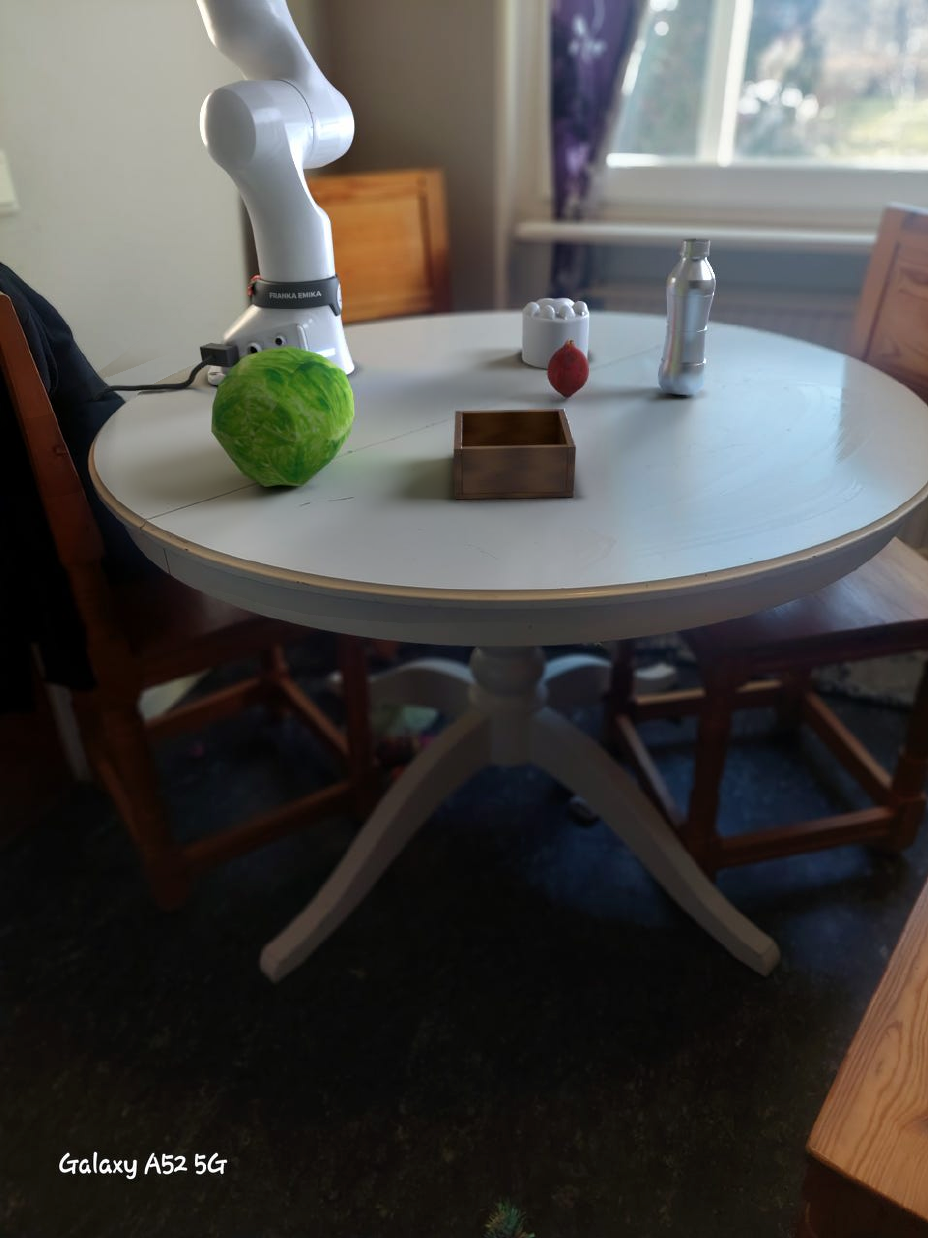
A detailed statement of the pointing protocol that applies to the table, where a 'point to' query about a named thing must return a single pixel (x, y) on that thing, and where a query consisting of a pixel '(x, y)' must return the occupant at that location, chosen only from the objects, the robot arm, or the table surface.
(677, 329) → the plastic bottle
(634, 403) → the table surface
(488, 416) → the brown bin
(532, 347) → the lumpy-topped squat cylinder
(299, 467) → the lettuce
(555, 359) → the onion
